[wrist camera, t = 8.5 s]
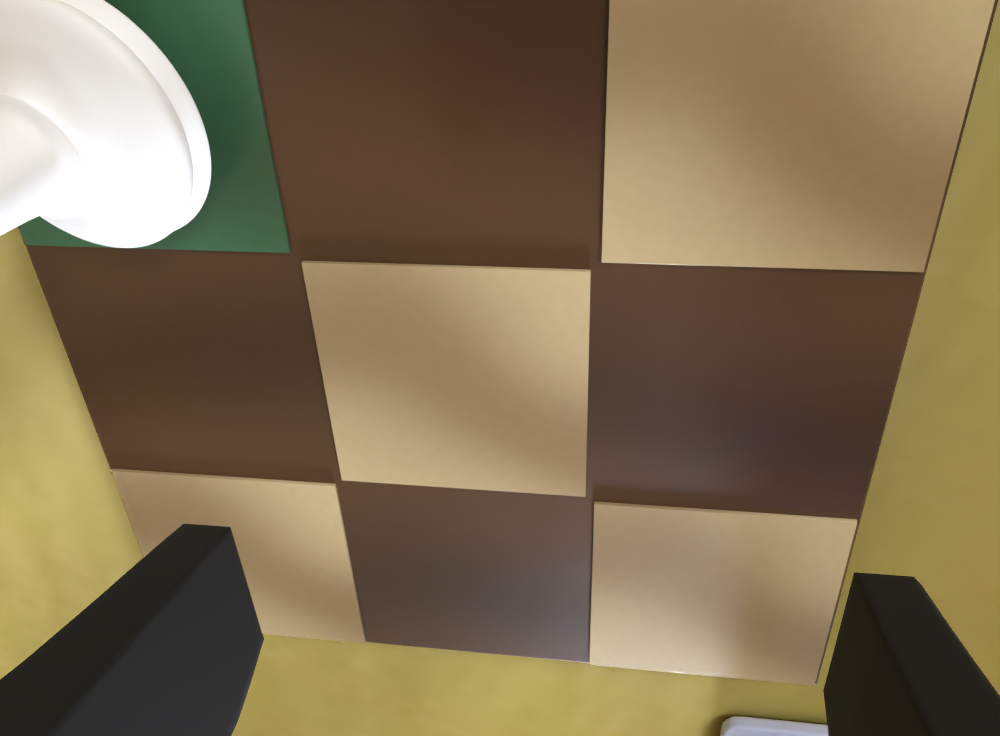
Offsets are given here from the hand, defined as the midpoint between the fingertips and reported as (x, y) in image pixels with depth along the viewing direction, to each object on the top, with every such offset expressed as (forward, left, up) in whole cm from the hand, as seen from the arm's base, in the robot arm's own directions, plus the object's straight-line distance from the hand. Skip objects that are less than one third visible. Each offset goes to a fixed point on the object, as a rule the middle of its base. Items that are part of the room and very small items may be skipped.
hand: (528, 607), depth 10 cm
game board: (-3, +3, -9) cm, 10 cm away
